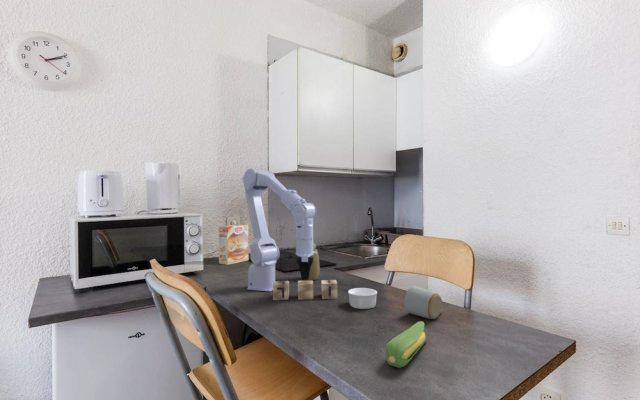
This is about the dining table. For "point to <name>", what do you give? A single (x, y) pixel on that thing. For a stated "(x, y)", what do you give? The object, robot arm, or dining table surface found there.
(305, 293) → the plain block
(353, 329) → the dining table surface
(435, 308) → the grey and brown cylinder
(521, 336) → the dining table surface
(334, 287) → the numbered block one
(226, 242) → the coffeecake box
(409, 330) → the edible corn
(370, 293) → the ramekin
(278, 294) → the numbered block seven
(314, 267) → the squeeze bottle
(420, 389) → the dining table surface
